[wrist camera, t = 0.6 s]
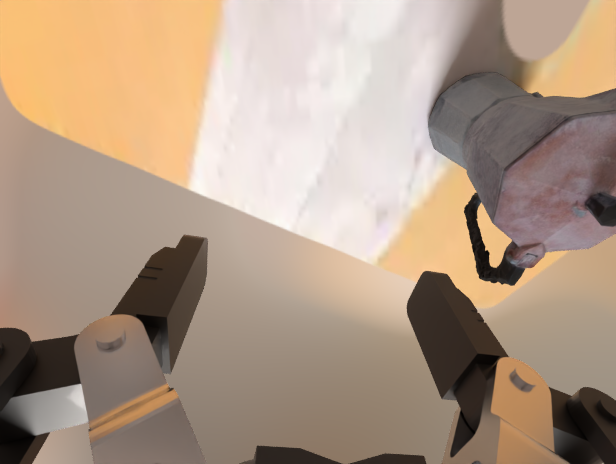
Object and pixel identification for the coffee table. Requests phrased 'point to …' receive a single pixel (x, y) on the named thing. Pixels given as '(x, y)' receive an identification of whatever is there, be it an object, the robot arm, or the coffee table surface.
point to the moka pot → (530, 167)
